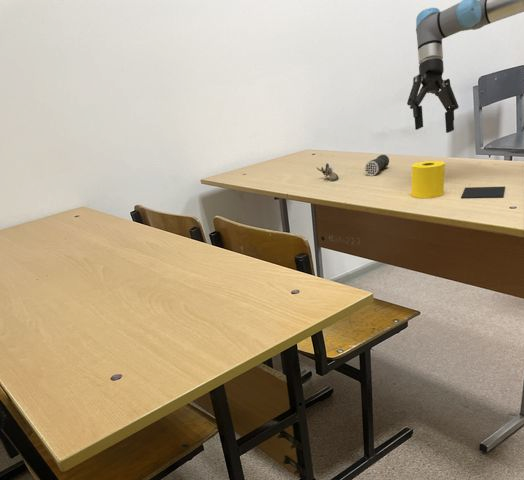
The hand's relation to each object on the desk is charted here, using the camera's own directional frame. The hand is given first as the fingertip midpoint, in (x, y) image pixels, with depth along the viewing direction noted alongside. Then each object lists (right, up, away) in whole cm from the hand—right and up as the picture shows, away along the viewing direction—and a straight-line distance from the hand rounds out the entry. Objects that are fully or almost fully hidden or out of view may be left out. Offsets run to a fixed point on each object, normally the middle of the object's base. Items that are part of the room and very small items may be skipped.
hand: (434, 129), depth 172 cm
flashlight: (-10, 0, +40) cm, 41 cm away
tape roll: (-2, -21, +1) cm, 21 cm away
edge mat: (+13, -22, -6) cm, 27 cm away
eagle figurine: (-30, -4, +38) cm, 49 cm away
